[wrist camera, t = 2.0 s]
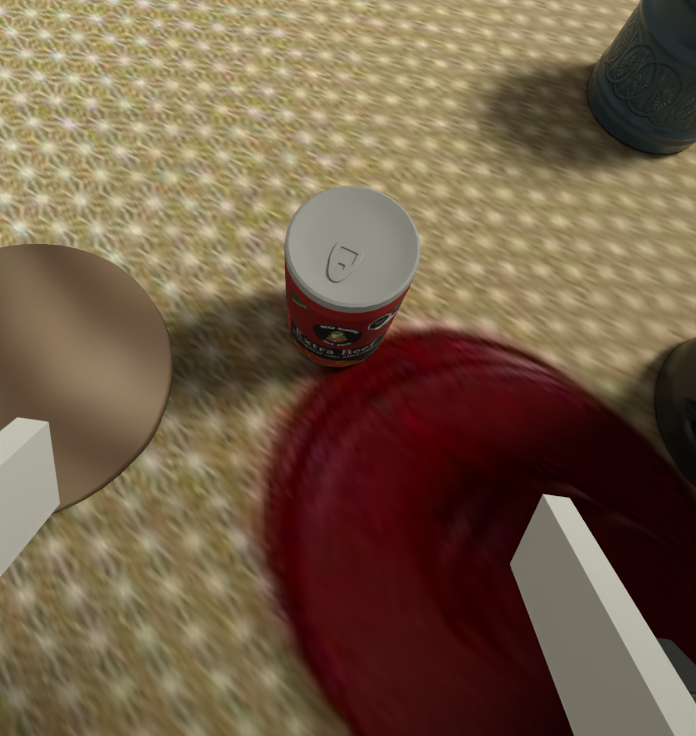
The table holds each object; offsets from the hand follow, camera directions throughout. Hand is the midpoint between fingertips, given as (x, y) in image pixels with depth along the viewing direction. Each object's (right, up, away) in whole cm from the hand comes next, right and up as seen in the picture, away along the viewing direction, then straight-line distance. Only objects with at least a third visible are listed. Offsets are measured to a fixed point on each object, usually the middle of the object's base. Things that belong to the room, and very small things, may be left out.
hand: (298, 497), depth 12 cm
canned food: (0, +7, +23) cm, 24 cm away
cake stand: (-18, +1, +19) cm, 26 cm away
